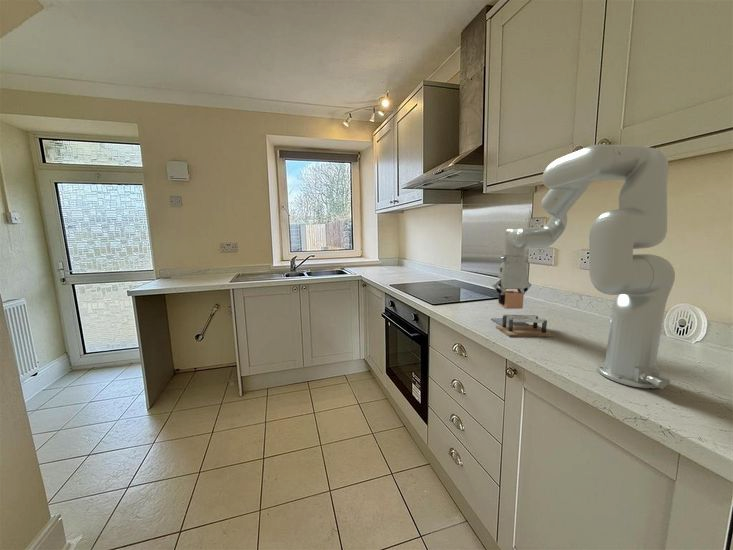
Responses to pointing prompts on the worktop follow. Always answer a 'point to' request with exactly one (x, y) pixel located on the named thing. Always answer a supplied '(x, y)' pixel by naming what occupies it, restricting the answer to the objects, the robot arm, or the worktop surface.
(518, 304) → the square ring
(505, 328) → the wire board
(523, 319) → the grey small table
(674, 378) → the worktop surface
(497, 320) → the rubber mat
